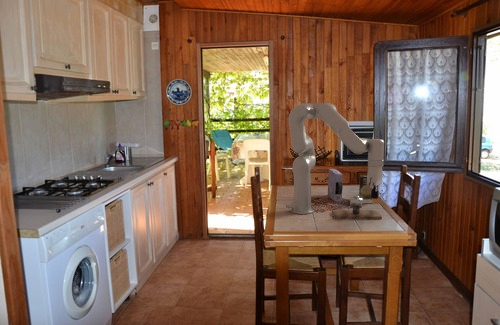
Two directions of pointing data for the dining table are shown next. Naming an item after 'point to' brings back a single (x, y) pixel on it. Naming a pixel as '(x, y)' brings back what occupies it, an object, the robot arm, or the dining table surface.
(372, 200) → the twist collar
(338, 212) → the bayonet base
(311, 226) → the dining table surface
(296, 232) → the dining table surface
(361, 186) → the coffee box
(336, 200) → the cake pan box
